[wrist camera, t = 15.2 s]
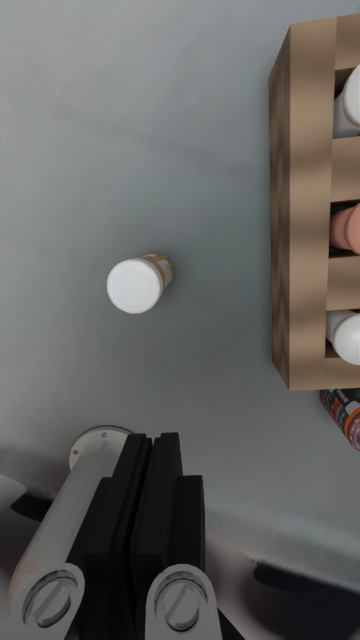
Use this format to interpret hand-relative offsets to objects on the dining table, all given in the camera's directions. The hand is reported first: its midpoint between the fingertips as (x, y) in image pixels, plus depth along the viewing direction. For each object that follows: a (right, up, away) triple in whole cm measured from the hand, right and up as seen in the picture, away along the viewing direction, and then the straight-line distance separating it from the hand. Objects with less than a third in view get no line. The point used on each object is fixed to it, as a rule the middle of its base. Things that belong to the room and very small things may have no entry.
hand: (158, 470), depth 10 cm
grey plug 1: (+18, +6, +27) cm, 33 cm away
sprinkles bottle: (-2, +11, +28) cm, 30 cm away
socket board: (+17, +15, +25) cm, 34 cm away
